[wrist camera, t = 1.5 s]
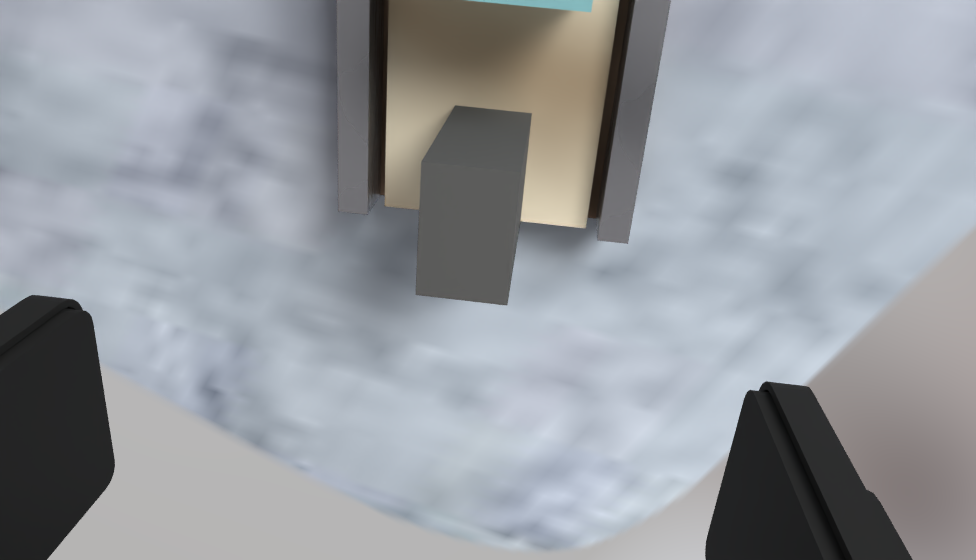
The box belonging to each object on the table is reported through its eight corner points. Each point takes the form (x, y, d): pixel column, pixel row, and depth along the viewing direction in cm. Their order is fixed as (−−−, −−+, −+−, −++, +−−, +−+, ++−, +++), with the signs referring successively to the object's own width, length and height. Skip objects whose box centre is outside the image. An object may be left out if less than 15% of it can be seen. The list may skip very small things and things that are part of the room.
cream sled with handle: (400, -216, 17) (327, -273, 12) (646, -196, 17) (680, -245, 12) (390, 196, 22) (334, 285, 16) (584, 217, 21) (590, 314, 16)
